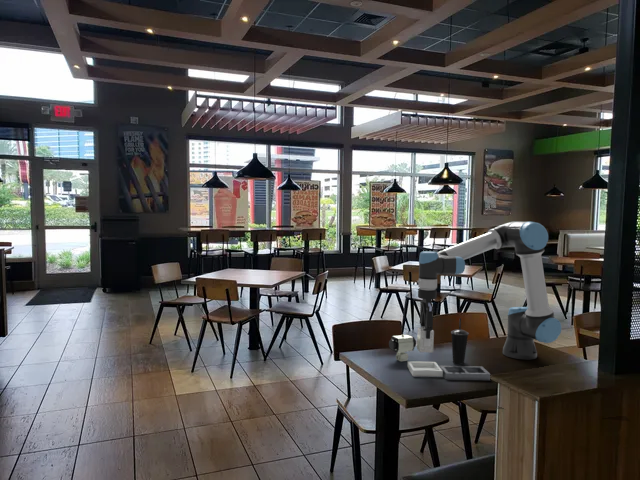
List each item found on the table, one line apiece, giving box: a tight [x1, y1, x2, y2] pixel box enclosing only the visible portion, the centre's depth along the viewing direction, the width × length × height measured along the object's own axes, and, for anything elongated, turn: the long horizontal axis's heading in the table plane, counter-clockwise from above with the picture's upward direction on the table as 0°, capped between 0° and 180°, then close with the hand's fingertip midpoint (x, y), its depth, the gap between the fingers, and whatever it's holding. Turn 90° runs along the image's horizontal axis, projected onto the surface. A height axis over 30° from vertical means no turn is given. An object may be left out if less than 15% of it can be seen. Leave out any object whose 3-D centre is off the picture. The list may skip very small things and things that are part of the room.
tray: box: [407, 360, 444, 378], centre depth 204 cm, size 12×12×2 cm
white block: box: [416, 326, 435, 354], centre depth 203 cm, size 6×6×10 cm
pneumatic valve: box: [388, 333, 417, 363], centre depth 219 cm, size 6×12×12 cm, turn 113°
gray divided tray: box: [439, 365, 492, 381], centre depth 200 cm, size 18×10×2 cm, turn 91°
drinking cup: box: [450, 317, 470, 365], centre depth 218 cm, size 8×8×20 cm
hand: (425, 343), depth 204 cm, fingers closed on white block, 5 cm apart
